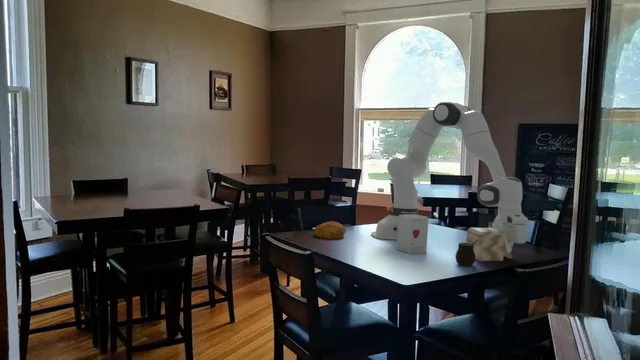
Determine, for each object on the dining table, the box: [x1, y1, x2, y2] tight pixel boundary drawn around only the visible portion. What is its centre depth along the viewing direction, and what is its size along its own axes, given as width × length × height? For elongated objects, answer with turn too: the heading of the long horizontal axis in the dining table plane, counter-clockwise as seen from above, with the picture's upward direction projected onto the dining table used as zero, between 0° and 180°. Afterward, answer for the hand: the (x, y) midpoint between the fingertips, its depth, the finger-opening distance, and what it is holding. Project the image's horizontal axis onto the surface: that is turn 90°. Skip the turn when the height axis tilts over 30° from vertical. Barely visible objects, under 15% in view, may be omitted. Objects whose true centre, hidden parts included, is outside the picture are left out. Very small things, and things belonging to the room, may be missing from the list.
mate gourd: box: [455, 240, 478, 267], centre depth 188 cm, size 7×8×10 cm
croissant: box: [314, 220, 347, 240], centre depth 236 cm, size 14×16×8 cm
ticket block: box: [465, 227, 505, 262], centre depth 203 cm, size 10×12×11 cm
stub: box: [503, 234, 513, 259], centre depth 204 cm, size 10×9×1 cm
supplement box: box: [396, 214, 429, 255], centre depth 208 cm, size 9×9×15 cm
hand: (507, 250), depth 204 cm, fingers closed, pressing on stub
